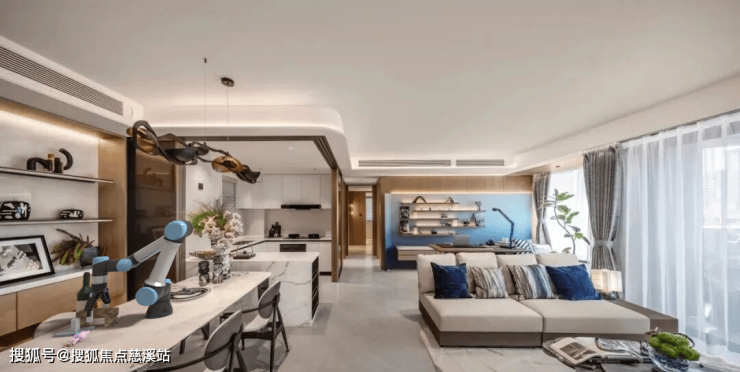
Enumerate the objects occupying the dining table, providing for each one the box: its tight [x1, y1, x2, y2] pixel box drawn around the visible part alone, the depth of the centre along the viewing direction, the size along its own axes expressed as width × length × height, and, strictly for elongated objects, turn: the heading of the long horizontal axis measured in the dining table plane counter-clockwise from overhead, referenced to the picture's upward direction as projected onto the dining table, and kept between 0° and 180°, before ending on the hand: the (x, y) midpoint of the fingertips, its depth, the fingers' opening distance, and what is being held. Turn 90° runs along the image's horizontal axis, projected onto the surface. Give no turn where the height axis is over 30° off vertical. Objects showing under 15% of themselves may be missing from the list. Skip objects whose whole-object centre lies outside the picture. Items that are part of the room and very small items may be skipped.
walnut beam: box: [75, 306, 120, 320], centre depth 188 cm, size 20×5×4 cm, turn 100°
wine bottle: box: [75, 271, 93, 313], centre depth 202 cm, size 8×8×30 cm
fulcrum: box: [52, 317, 97, 338], centre depth 177 cm, size 14×11×8 cm
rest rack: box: [80, 315, 119, 328], centre depth 188 cm, size 18×7×5 cm, turn 100°
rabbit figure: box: [63, 331, 91, 348], centre depth 164 cm, size 6×6×15 cm
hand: (97, 318), depth 188 cm, fingers open, 13 cm apart
